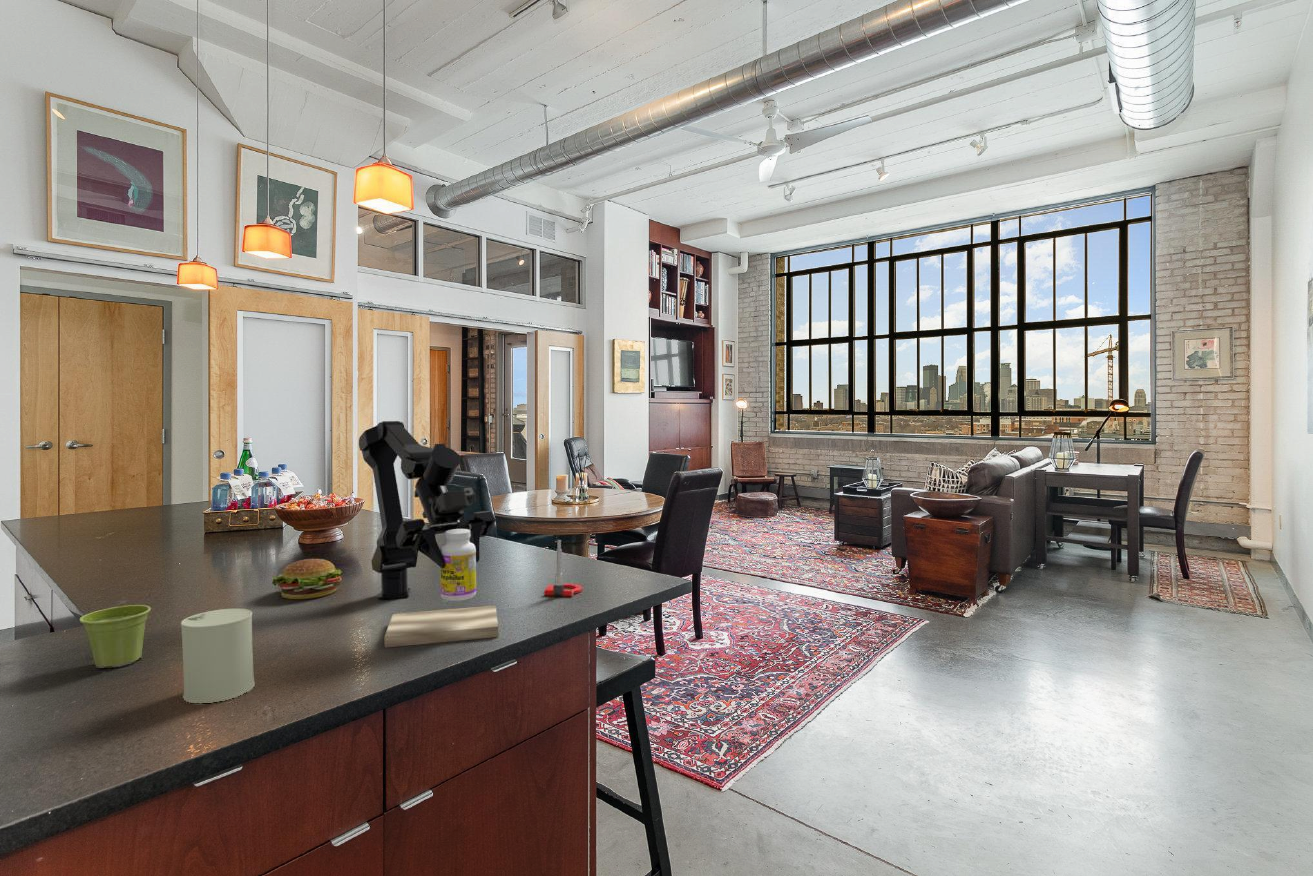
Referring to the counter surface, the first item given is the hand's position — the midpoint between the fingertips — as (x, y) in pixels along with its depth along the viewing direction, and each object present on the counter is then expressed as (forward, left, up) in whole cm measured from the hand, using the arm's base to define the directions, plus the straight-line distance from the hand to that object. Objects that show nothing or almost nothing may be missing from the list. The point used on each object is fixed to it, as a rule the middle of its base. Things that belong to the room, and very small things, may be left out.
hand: (461, 564), depth 128 cm
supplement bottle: (-1, -1, -7) cm, 7 cm away
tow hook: (-23, +23, -14) cm, 35 cm away
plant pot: (0, -56, -13) cm, 58 cm away
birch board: (-2, -3, -13) cm, 14 cm away
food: (-39, -35, -14) cm, 55 cm away
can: (+18, -35, -13) cm, 42 cm away
